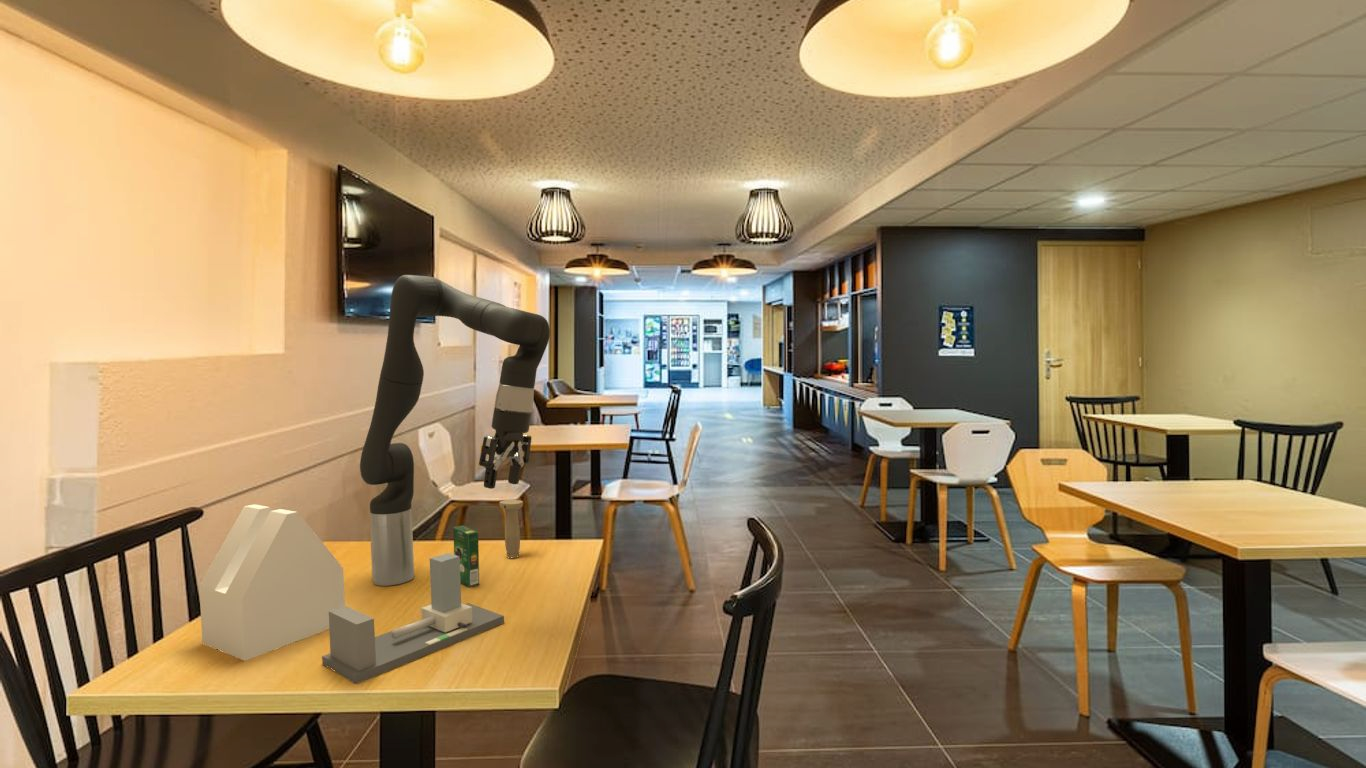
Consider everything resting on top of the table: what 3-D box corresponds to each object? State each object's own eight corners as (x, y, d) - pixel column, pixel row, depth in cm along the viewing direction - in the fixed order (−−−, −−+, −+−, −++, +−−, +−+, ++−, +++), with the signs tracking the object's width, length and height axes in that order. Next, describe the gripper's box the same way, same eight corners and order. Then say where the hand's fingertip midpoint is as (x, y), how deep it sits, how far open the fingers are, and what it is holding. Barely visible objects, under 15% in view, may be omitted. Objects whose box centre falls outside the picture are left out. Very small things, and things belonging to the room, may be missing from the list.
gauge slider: (382, 637, 123) (379, 568, 123) (448, 612, 135) (446, 550, 134) (411, 650, 117) (408, 579, 117) (478, 624, 128) (476, 558, 128)
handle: (515, 561, 173) (513, 505, 173) (497, 558, 176) (495, 502, 176) (528, 556, 177) (526, 501, 177) (510, 553, 181) (508, 499, 180)
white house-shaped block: (245, 661, 119) (237, 524, 118) (202, 644, 126) (195, 515, 125) (345, 623, 135) (340, 502, 134) (302, 609, 143) (297, 495, 142)
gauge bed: (322, 664, 117) (320, 611, 116) (468, 609, 141) (467, 566, 140) (355, 683, 109) (353, 627, 109) (504, 622, 133) (502, 576, 133)
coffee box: (481, 585, 156) (479, 530, 155) (469, 588, 154) (467, 533, 153) (465, 577, 162) (463, 524, 161) (454, 580, 160) (452, 526, 159)
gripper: (517, 405, 143) (505, 479, 143) (476, 404, 130) (464, 485, 130) (547, 411, 141) (535, 485, 141) (509, 410, 127) (496, 493, 128)
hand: (501, 485), depth 135 cm, fingers open, 8 cm apart
